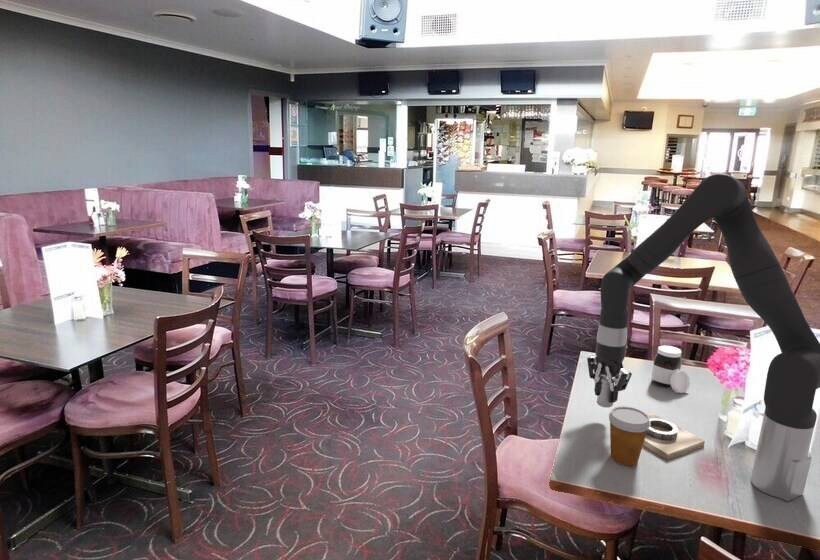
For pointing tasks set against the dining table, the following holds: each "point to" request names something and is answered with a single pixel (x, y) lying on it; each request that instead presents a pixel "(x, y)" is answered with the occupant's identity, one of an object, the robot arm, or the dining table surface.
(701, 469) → the dining table surface
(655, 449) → the birch base plate
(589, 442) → the dining table surface
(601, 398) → the rook chess piece
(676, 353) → the spread jar
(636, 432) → the disposable coffee cup
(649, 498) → the dining table surface
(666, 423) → the steel socket collar
